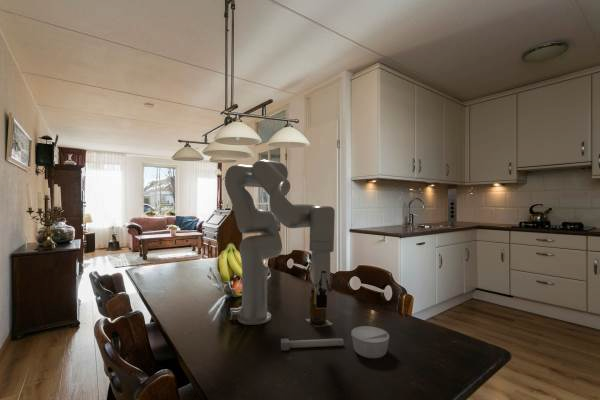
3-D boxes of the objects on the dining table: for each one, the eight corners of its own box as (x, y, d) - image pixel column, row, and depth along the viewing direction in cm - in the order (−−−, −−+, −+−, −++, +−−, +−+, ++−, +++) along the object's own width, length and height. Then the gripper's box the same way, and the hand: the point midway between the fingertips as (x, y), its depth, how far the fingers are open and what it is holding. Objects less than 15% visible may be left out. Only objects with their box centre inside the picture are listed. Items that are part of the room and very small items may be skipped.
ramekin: (383, 364, 82) (383, 345, 82) (345, 354, 88) (345, 336, 88) (393, 348, 92) (393, 331, 92) (359, 339, 98) (359, 323, 98)
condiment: (321, 316, 117) (321, 285, 117) (333, 324, 110) (333, 291, 110) (304, 319, 114) (304, 288, 114) (315, 328, 107) (315, 294, 107)
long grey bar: (281, 350, 90) (281, 343, 90) (280, 346, 93) (280, 338, 93) (344, 347, 92) (344, 340, 92) (342, 343, 95) (342, 336, 95)
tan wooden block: (316, 308, 91) (316, 289, 91) (314, 303, 96) (314, 284, 96) (326, 308, 91) (326, 289, 91) (323, 303, 96) (323, 284, 96)
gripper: (306, 241, 101) (305, 295, 102) (313, 250, 85) (311, 315, 85) (328, 241, 102) (326, 295, 102) (339, 250, 85) (337, 314, 85)
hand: (319, 303), depth 93 cm, fingers closed on tan wooden block, 4 cm apart
